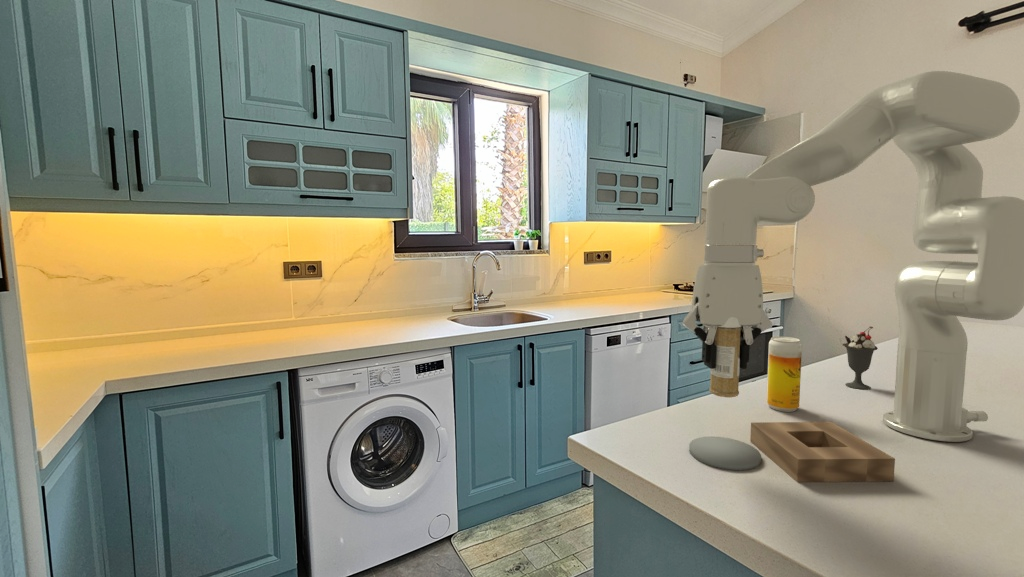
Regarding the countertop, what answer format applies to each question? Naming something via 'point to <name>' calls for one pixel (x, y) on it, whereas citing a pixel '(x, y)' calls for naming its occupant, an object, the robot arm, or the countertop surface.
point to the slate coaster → (725, 453)
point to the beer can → (784, 373)
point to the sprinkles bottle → (726, 360)
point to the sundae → (859, 357)
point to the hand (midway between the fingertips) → (724, 365)
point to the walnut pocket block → (821, 452)
